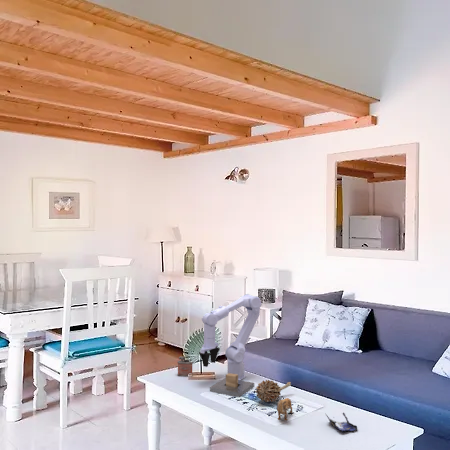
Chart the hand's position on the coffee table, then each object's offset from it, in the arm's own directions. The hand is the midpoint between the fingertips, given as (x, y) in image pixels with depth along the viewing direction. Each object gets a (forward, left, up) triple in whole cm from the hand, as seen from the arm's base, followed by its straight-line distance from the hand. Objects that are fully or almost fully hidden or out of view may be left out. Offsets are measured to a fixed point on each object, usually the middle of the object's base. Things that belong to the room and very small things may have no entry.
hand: (209, 364), depth 244 cm
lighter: (-4, -17, -10) cm, 20 cm away
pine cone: (+5, +37, -10) cm, 39 cm away
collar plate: (+2, +14, -9) cm, 17 cm away
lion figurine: (+21, +49, -10) cm, 54 cm away
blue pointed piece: (+20, +72, -10) cm, 75 cm away
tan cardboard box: (+2, +14, -10) cm, 17 cm away
